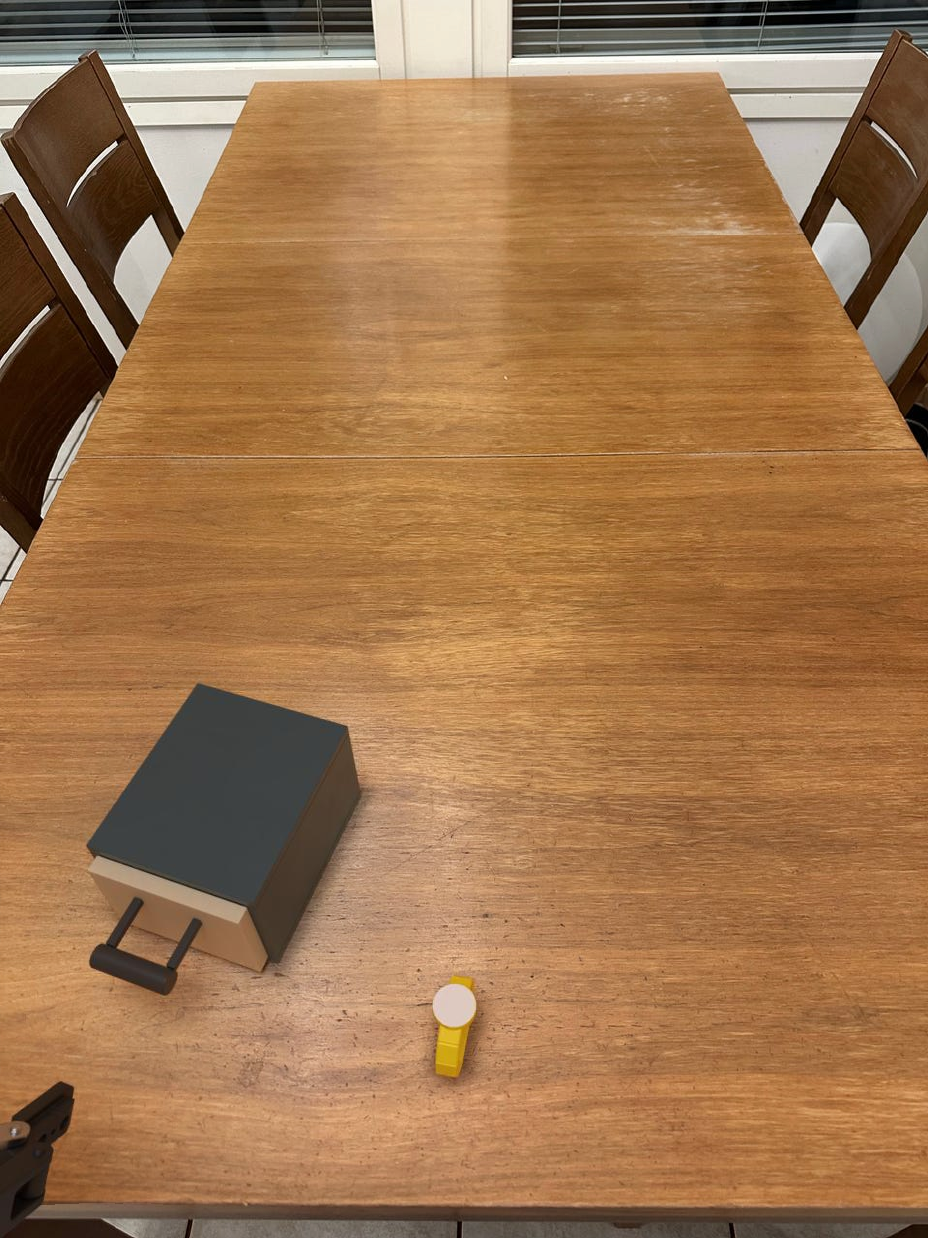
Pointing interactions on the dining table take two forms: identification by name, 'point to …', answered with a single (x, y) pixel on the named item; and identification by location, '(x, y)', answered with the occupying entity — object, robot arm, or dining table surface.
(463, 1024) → the watch
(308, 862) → the cabinet
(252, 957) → the drawer
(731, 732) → the dining table surface
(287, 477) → the dining table surface
